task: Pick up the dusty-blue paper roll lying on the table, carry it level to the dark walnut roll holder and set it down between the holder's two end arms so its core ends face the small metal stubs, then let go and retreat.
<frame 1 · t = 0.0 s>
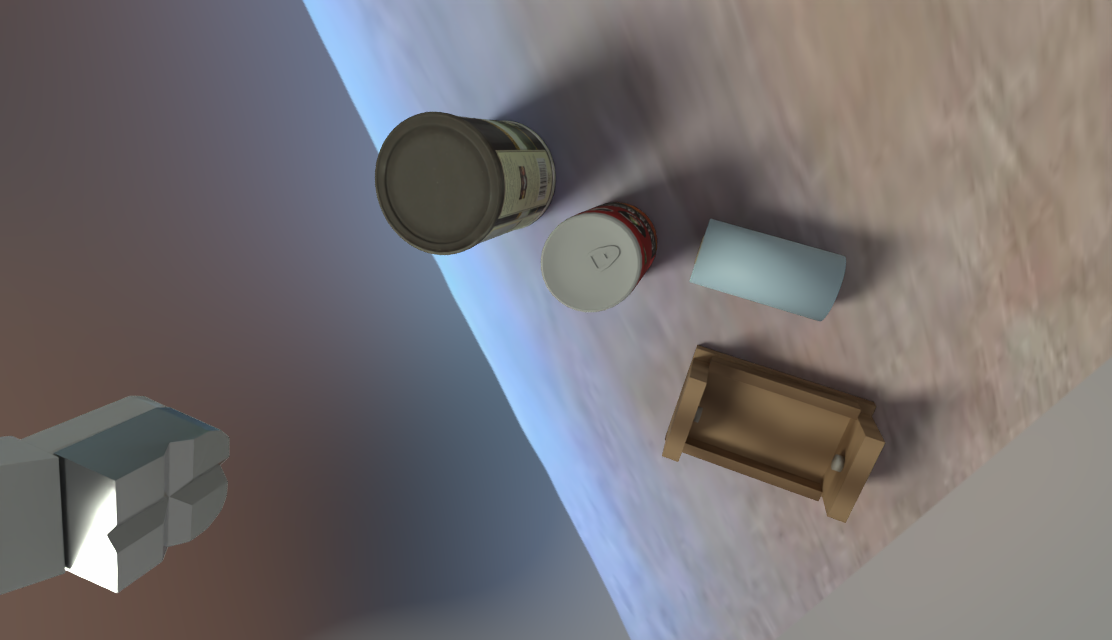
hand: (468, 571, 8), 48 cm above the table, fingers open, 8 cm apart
canned food: (616, 243, 55), on the table
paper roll: (762, 263, 52), on the table
coffee can: (505, 177, 57), on the table
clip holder: (763, 419, 56), on the table
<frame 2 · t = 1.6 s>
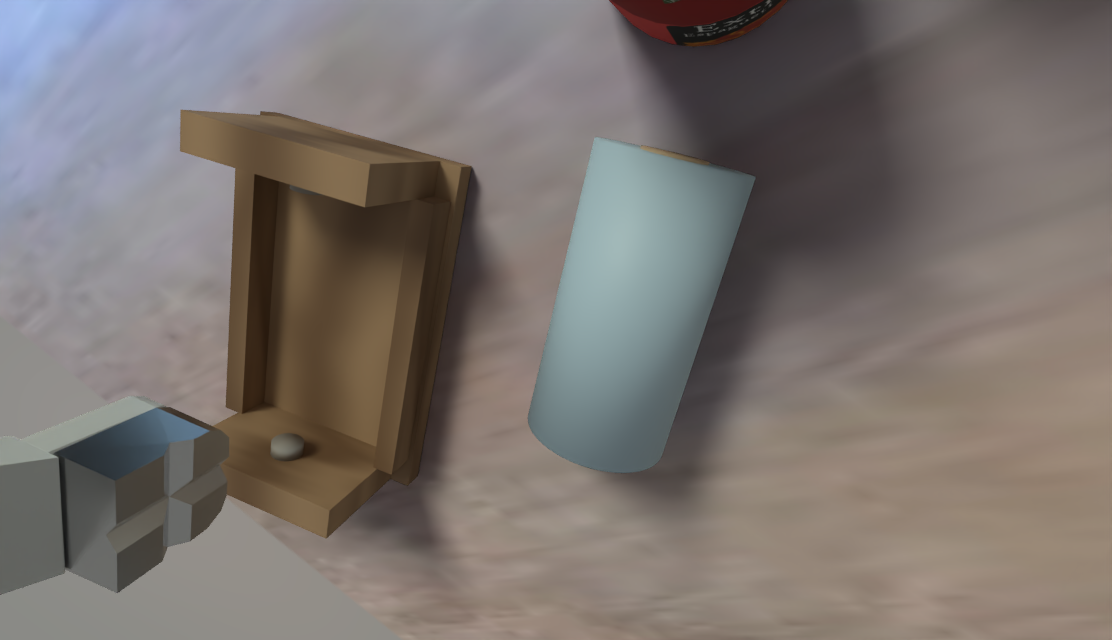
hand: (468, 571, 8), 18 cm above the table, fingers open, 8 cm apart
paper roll: (655, 292, 25), on the table, tilted 11°
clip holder: (351, 304, 29), on the table
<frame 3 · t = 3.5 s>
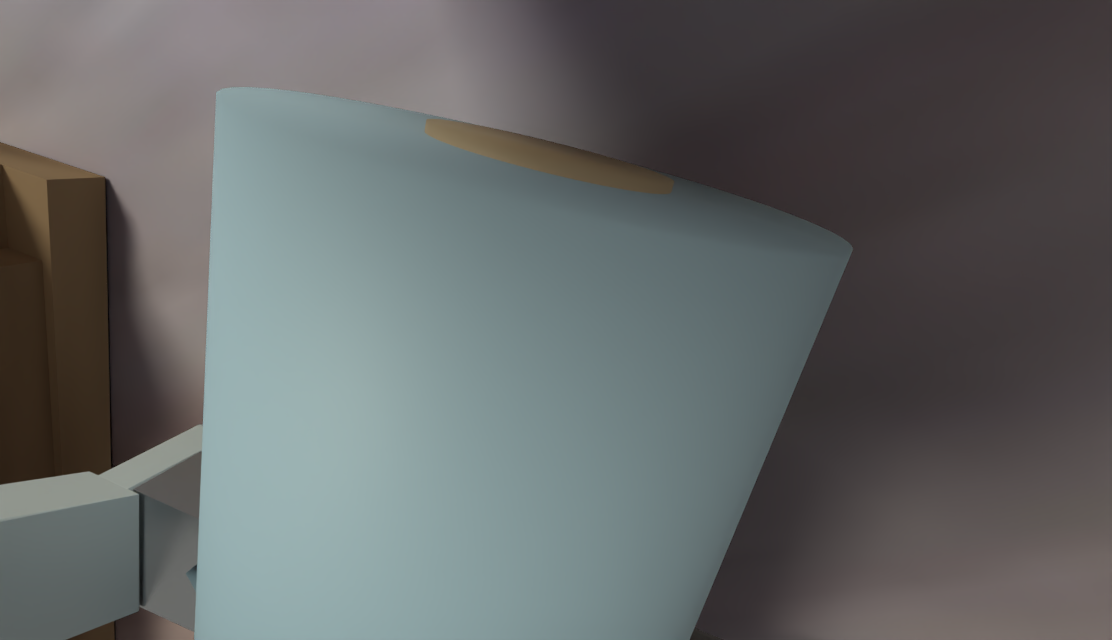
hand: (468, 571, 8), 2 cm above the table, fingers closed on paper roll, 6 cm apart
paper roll: (530, 483, 10), on the table, touching gripper
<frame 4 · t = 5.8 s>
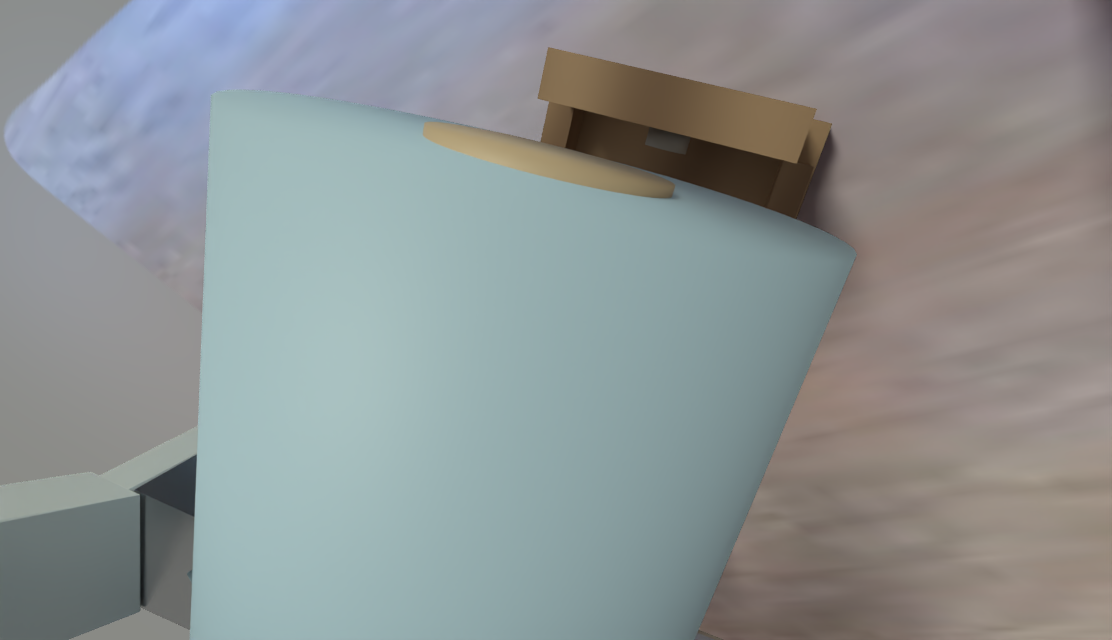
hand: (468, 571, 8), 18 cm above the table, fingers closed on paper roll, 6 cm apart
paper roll: (530, 487, 10), point 16 cm above the table, touching gripper
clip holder: (637, 287, 25), on the table
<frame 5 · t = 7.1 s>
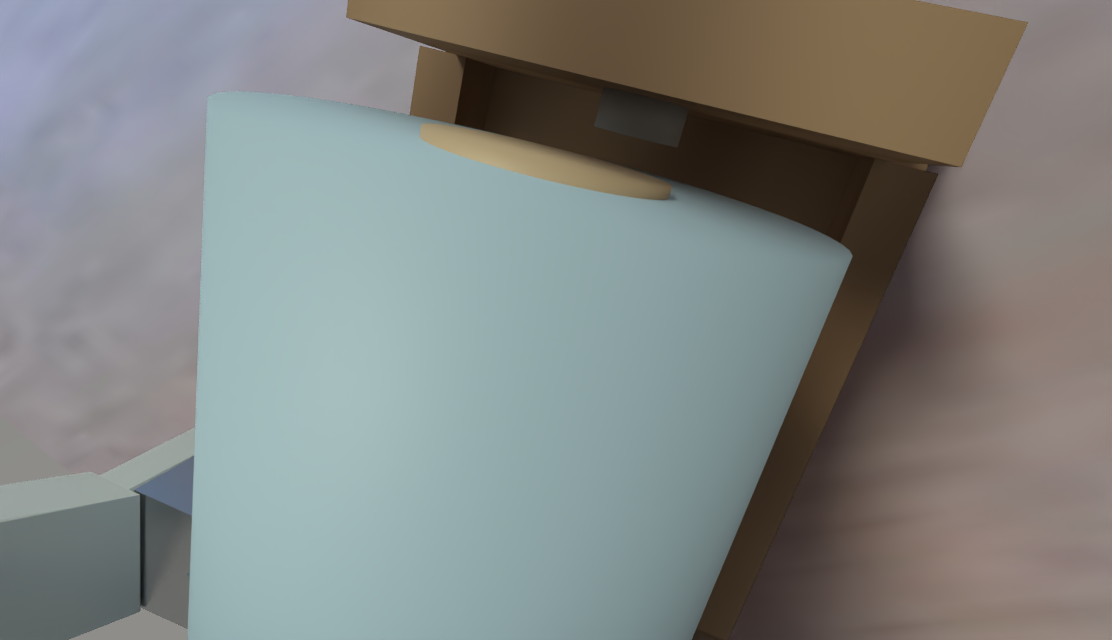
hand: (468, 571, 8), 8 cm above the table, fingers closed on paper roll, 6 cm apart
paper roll: (528, 488, 10), point 5 cm above the table, touching gripper
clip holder: (594, 374, 15), on the table
when the fingers open (5 cm above the table, at t = 8.0 s): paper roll drops 2 cm, resting on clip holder.
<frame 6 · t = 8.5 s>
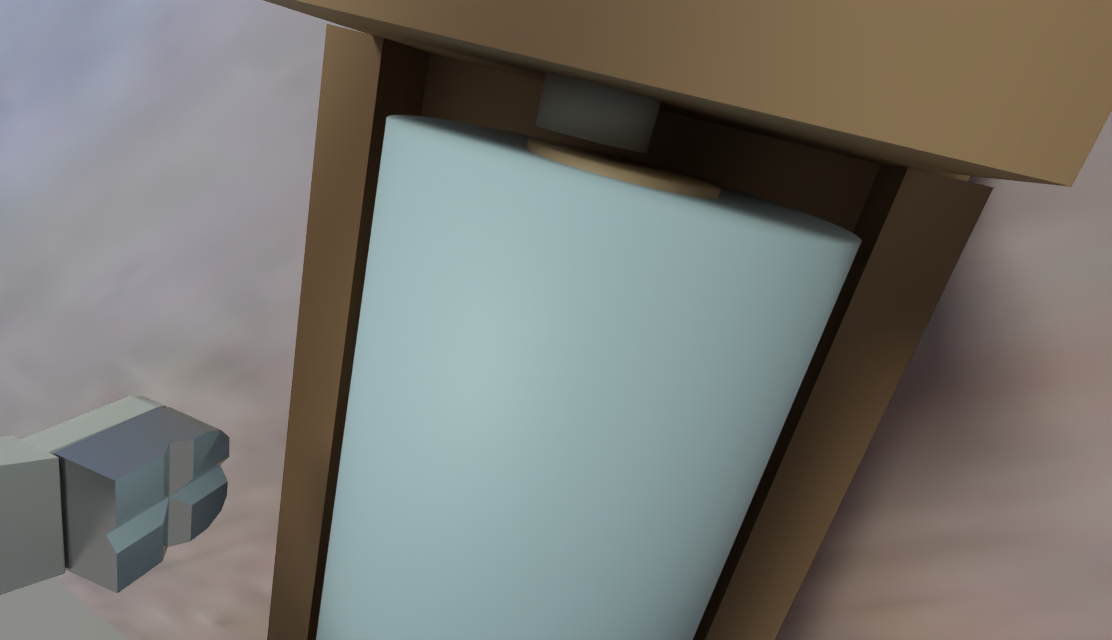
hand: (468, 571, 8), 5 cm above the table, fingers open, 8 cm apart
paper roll: (557, 440, 12), point 1 cm above the table, tilted 6°, touching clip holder
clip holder: (561, 421, 13), on the table
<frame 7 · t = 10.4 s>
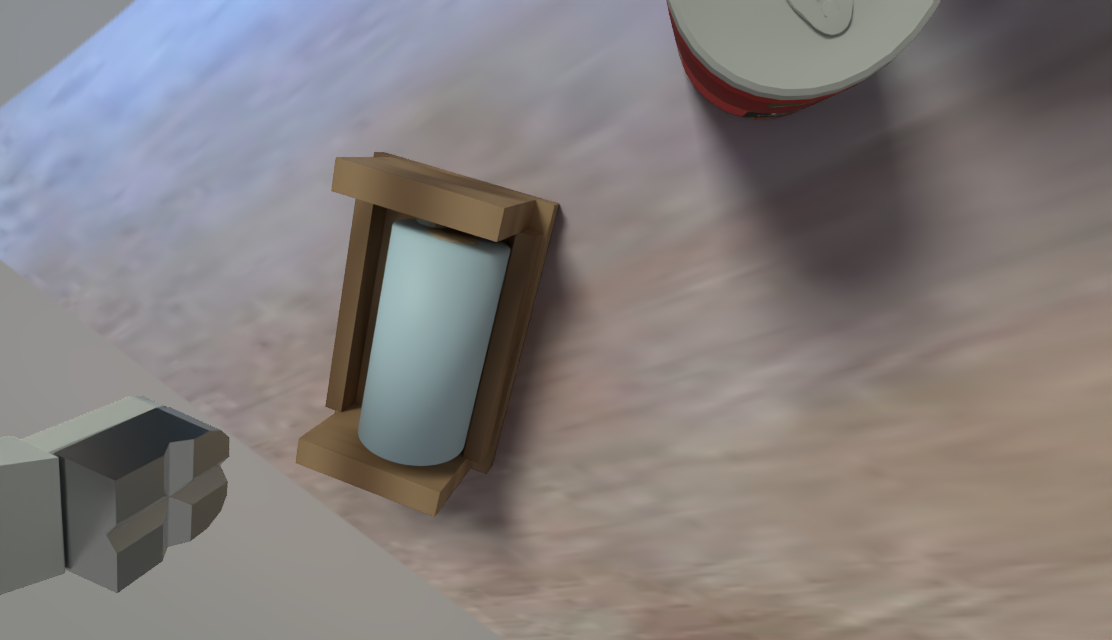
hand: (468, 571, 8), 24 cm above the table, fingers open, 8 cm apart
canned food: (764, 27, 26), on the table
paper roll: (435, 321, 32), point 1 cm above the table, tilted 21°, touching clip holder
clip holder: (440, 317, 34), on the table
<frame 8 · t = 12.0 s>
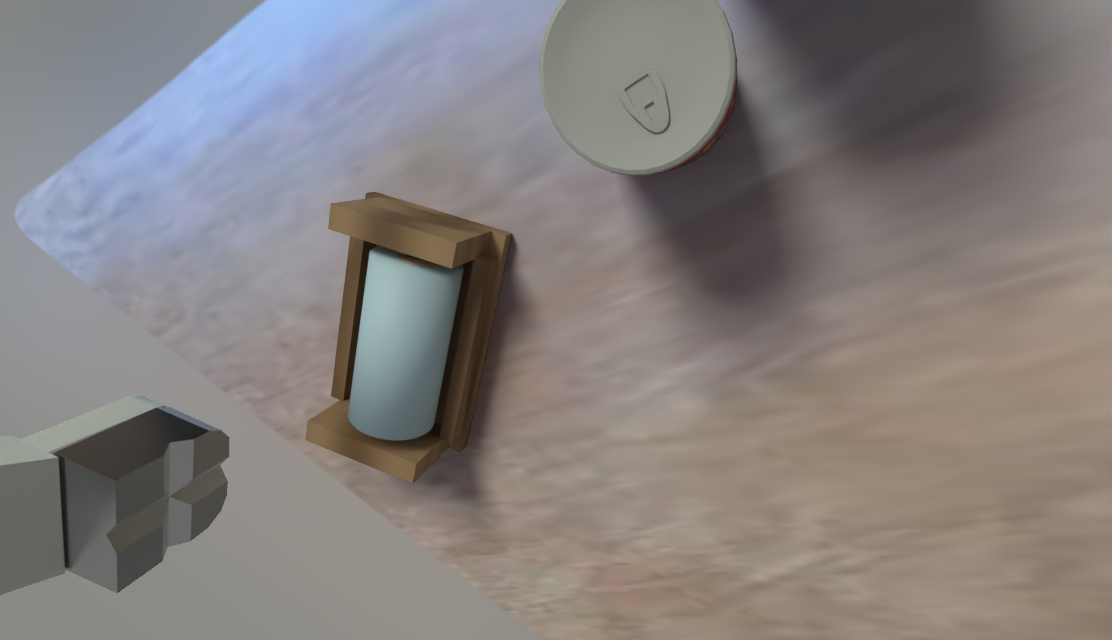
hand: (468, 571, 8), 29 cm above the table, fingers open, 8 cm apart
canned food: (664, 95, 33), on the table
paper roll: (417, 327, 40), point 1 cm above the table, tilted 12°, touching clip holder
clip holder: (422, 324, 41), on the table
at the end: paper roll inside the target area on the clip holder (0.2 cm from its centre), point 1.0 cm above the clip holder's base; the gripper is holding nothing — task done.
